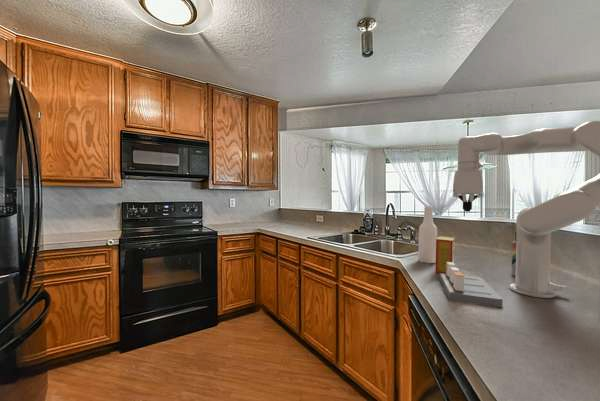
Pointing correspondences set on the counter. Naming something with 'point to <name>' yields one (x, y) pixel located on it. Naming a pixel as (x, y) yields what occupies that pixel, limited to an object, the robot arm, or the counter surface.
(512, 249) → the lotion bottle
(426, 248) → the alcohol
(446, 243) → the baking soda box
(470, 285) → the panel
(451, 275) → the handle mid
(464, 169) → the robot arm
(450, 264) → the handle back
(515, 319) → the counter surface
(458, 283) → the handle
